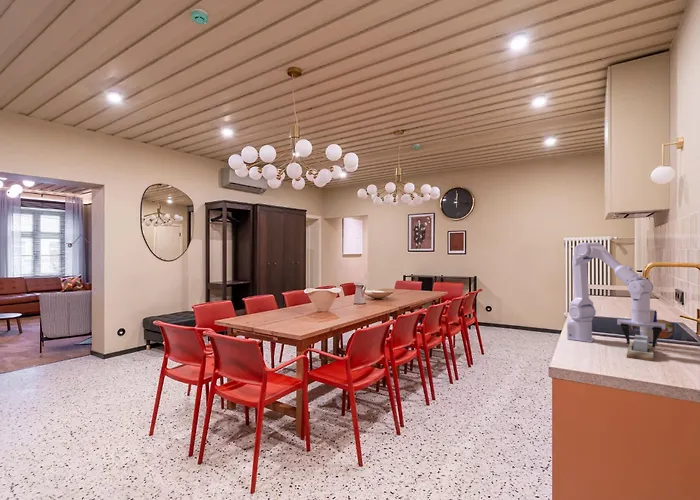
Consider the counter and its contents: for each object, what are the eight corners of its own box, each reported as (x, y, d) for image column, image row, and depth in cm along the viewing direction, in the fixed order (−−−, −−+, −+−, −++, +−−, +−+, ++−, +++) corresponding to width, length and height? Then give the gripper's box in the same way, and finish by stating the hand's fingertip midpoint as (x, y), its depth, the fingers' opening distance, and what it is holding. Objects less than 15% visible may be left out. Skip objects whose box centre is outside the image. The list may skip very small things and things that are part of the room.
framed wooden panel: (626, 357, 138) (626, 350, 138) (629, 347, 151) (629, 341, 151) (654, 361, 132) (654, 354, 132) (654, 350, 146) (654, 344, 146)
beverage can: (657, 346, 152) (657, 310, 152) (640, 344, 155) (640, 309, 155) (656, 343, 156) (656, 308, 156) (639, 341, 160) (639, 307, 160)
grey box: (633, 353, 139) (633, 340, 139) (635, 347, 148) (635, 334, 148) (647, 355, 136) (647, 342, 136) (647, 348, 145) (647, 336, 145)
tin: (632, 336, 170) (632, 318, 169) (630, 334, 172) (630, 317, 172) (674, 339, 162) (674, 320, 162) (672, 338, 165) (671, 319, 165)
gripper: (616, 309, 143) (617, 344, 143) (665, 313, 134) (665, 350, 134) (618, 307, 149) (618, 340, 149) (665, 311, 139) (665, 346, 139)
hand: (640, 345), depth 142 cm, fingers open, 7 cm apart
